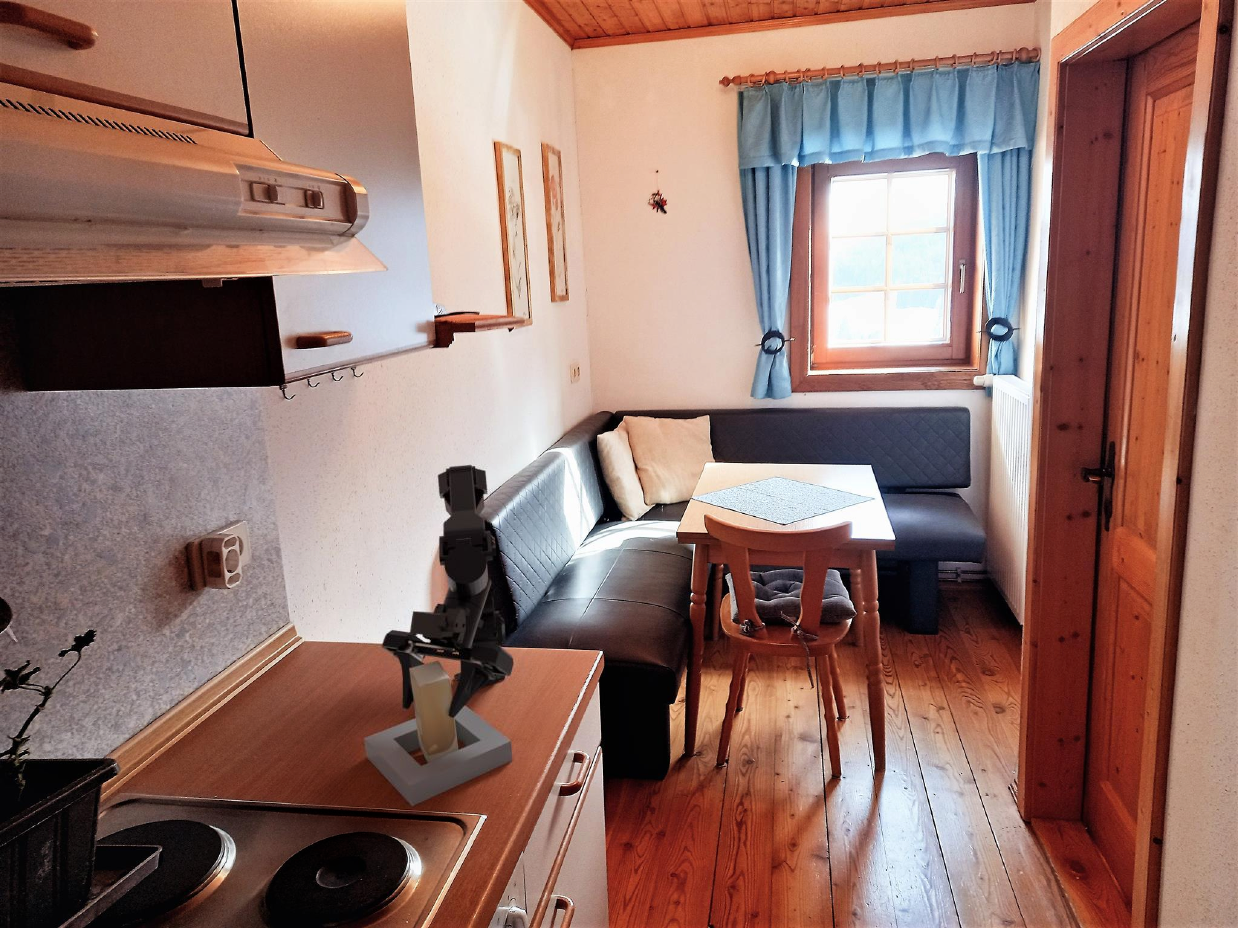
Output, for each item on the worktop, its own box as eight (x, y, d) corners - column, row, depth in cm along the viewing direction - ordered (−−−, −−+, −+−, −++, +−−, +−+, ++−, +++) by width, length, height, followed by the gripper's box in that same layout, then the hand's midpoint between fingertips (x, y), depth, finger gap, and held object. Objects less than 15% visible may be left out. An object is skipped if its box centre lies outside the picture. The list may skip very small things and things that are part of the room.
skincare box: (418, 745, 119) (407, 666, 116) (448, 736, 121) (438, 658, 118) (429, 767, 113) (418, 685, 111) (460, 757, 115) (450, 676, 112)
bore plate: (366, 756, 118) (364, 737, 118) (461, 718, 127) (459, 700, 127) (412, 806, 107) (409, 785, 106) (512, 760, 116) (510, 740, 115)
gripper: (381, 577, 118) (339, 685, 111) (496, 590, 112) (460, 706, 104) (419, 607, 127) (383, 708, 120) (528, 621, 121) (496, 729, 113)
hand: (427, 712), depth 114 cm, fingers closed on skincare box, 7 cm apart
